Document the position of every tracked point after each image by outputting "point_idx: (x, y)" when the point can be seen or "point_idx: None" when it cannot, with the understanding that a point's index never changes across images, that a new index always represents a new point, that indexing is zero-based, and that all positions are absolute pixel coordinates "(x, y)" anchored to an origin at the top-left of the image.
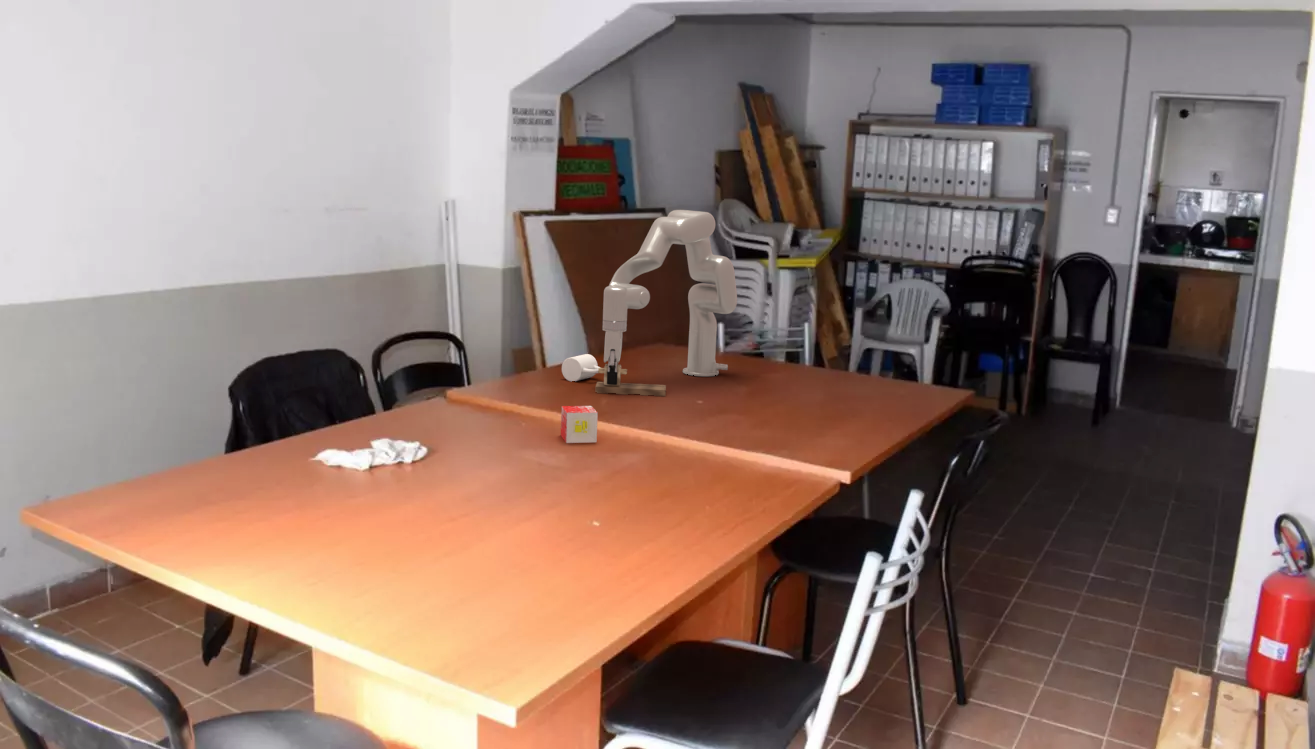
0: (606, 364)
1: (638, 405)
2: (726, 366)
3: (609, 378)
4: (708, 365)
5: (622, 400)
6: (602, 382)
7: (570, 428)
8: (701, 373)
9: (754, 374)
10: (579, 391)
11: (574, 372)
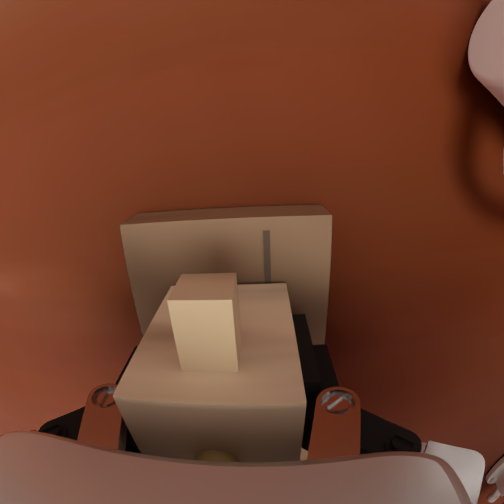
0: (255, 416)
1: (20, 395)
2: (490, 500)
3: (128, 359)
4: (502, 488)
5: (46, 357)
6: (308, 261)
7: None
8: (493, 473)
9: (480, 500)
10: (153, 97)
11: (502, 39)
